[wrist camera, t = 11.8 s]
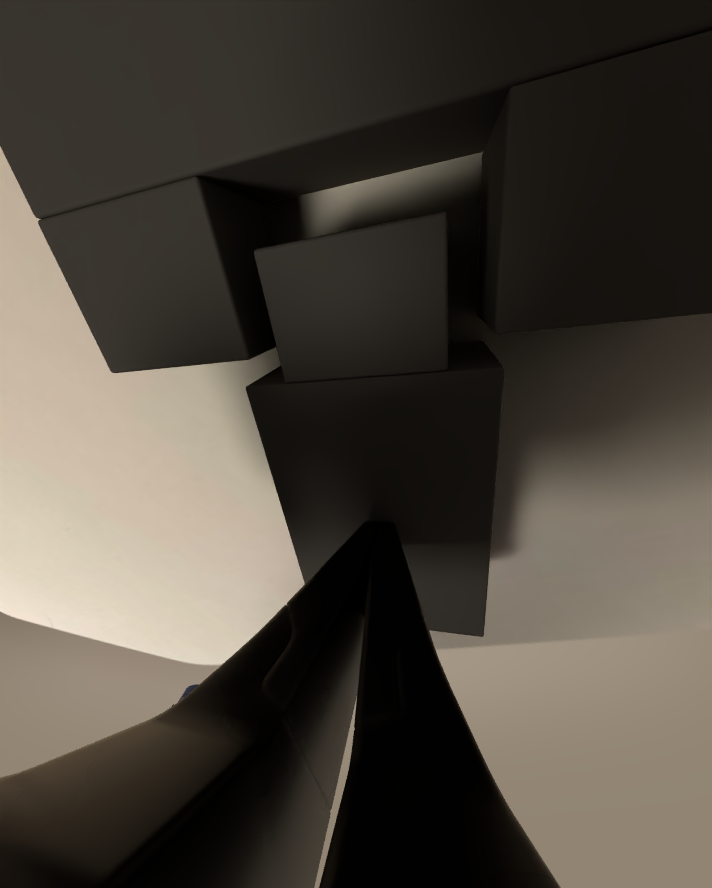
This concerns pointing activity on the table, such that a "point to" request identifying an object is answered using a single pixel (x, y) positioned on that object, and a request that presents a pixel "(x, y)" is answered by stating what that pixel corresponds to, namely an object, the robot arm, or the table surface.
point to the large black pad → (358, 150)
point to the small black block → (381, 409)
